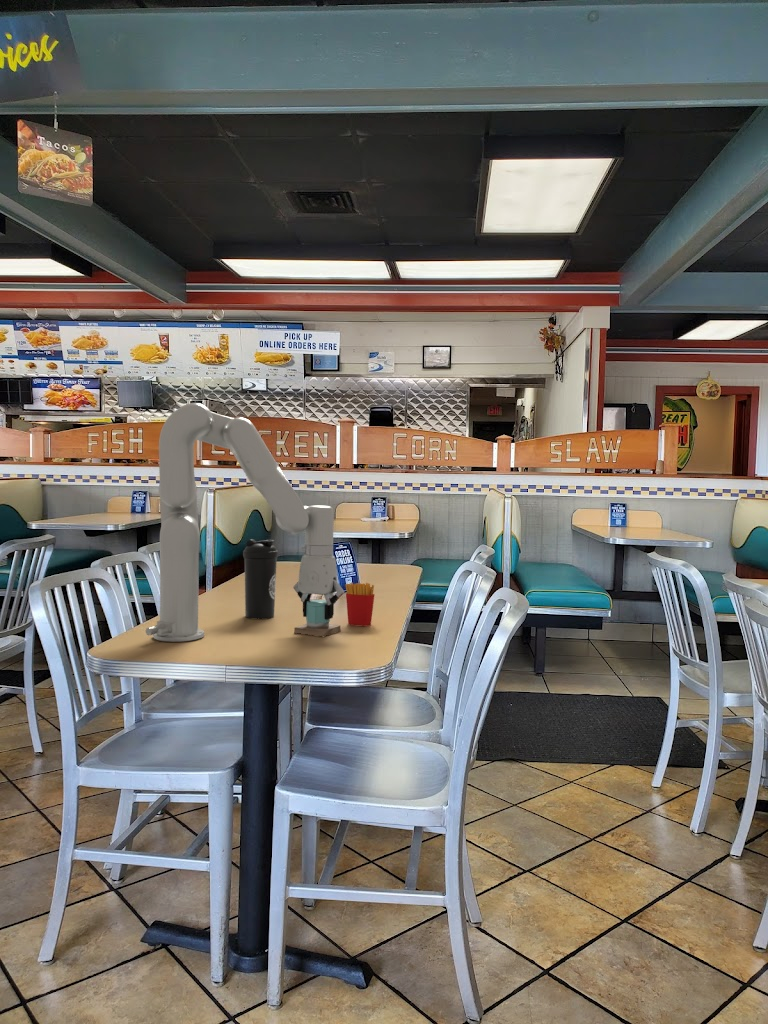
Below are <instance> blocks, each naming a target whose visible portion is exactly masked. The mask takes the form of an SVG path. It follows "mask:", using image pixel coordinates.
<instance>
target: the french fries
mask: <svg viewBox="0 0 768 1024" xmlns="http://www.w3.org/2000/svg"><path fill="white" fill-rule="evenodd" d="M374 589H375V585H374V584H370V583H368V582H365V583H362V582H361V583H360V582H357V583H353V582H350V583H345V590H346V593H345V598H346V611H347V622H348V623H347V624H348V625H349V624H350V625H349V626H355V625H362V626H361V627H369V625H370V626H372V617H373V609H374V602H375V601H374V600H375V593H374Z"/></svg>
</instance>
